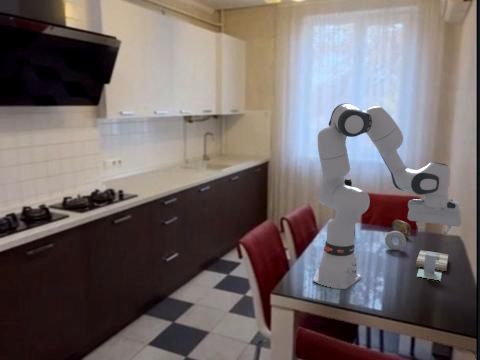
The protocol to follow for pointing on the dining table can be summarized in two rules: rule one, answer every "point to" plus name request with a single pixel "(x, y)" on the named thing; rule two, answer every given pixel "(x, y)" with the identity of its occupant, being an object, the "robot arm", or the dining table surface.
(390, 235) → the donut
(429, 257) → the aluminium block
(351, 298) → the dining table surface
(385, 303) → the dining table surface
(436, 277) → the green pad
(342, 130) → the robot arm
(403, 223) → the tin
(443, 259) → the frame
